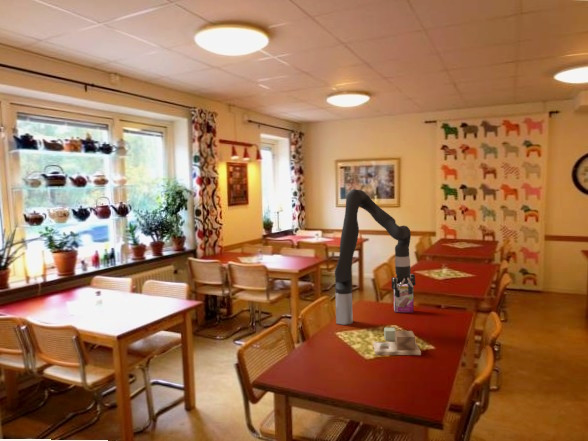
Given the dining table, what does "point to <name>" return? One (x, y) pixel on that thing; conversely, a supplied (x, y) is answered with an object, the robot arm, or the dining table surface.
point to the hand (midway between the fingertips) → (404, 295)
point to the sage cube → (389, 334)
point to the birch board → (393, 349)
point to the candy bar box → (404, 300)
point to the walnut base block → (404, 340)
